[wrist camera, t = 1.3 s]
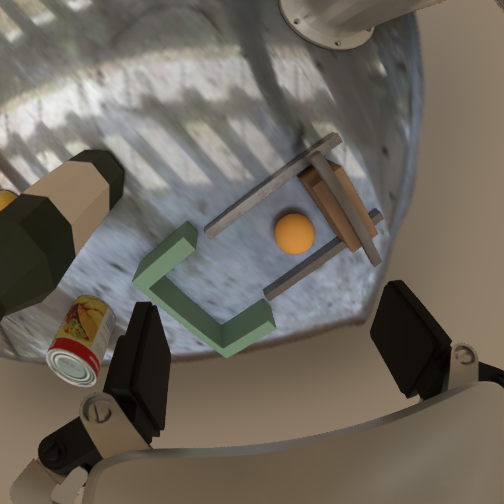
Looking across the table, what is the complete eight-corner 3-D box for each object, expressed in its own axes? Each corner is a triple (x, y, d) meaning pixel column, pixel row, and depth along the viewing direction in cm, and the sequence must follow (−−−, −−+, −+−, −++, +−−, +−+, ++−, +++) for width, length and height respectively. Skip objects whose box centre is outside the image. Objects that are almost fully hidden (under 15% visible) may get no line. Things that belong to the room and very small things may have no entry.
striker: (309, 138, 30) (331, 144, 24) (366, 232, 37) (390, 254, 31) (283, 157, 31) (299, 166, 25) (344, 248, 38) (366, 273, 32)
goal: (187, 220, 34) (183, 237, 29) (270, 306, 42) (276, 328, 37) (140, 261, 35) (131, 282, 31) (225, 335, 43) (226, 358, 39)
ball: (294, 200, 34) (306, 213, 30) (314, 228, 36) (327, 245, 32) (263, 223, 35) (270, 240, 31) (284, 250, 37) (293, 269, 33)
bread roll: (19, 182, 27) (3, 191, 24) (34, 239, 32) (21, 251, 28) (-11, 195, 27) (-26, 204, 23) (4, 246, 31) (-9, 257, 27)
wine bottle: (111, 221, 32) (1, 450, 8) (62, 192, 29) (-79, 384, 5) (135, 168, 29) (-29, 433, 4) (81, 137, 26) (-124, 329, 1)
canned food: (67, 295, 36) (36, 347, 26) (107, 294, 37) (82, 352, 27) (82, 331, 40) (61, 383, 29) (121, 332, 41) (104, 389, 30)
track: (332, 132, 31) (337, 133, 29) (378, 214, 37) (383, 218, 35) (204, 227, 34) (203, 232, 33) (267, 294, 40) (269, 301, 39)
